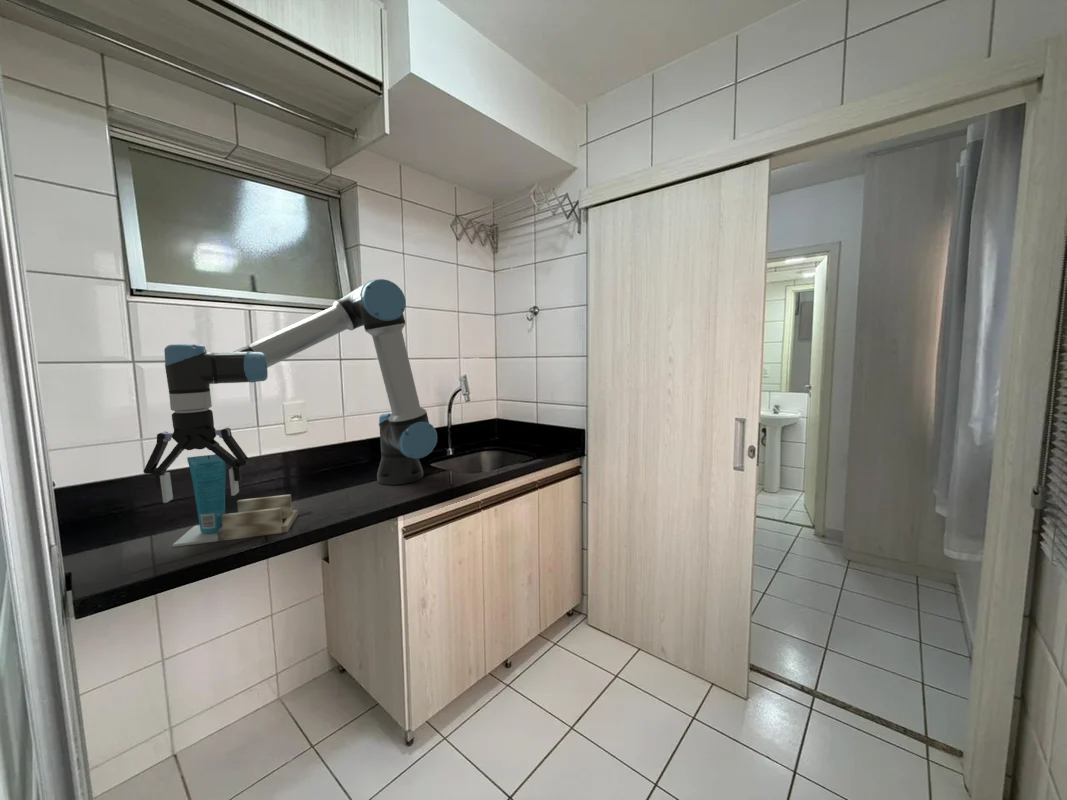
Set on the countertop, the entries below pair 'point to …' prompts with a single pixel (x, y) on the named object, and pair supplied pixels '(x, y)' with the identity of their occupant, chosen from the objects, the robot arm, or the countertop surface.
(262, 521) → the rack
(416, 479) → the robot arm
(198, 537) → the mat
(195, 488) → the tube
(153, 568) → the countertop surface
